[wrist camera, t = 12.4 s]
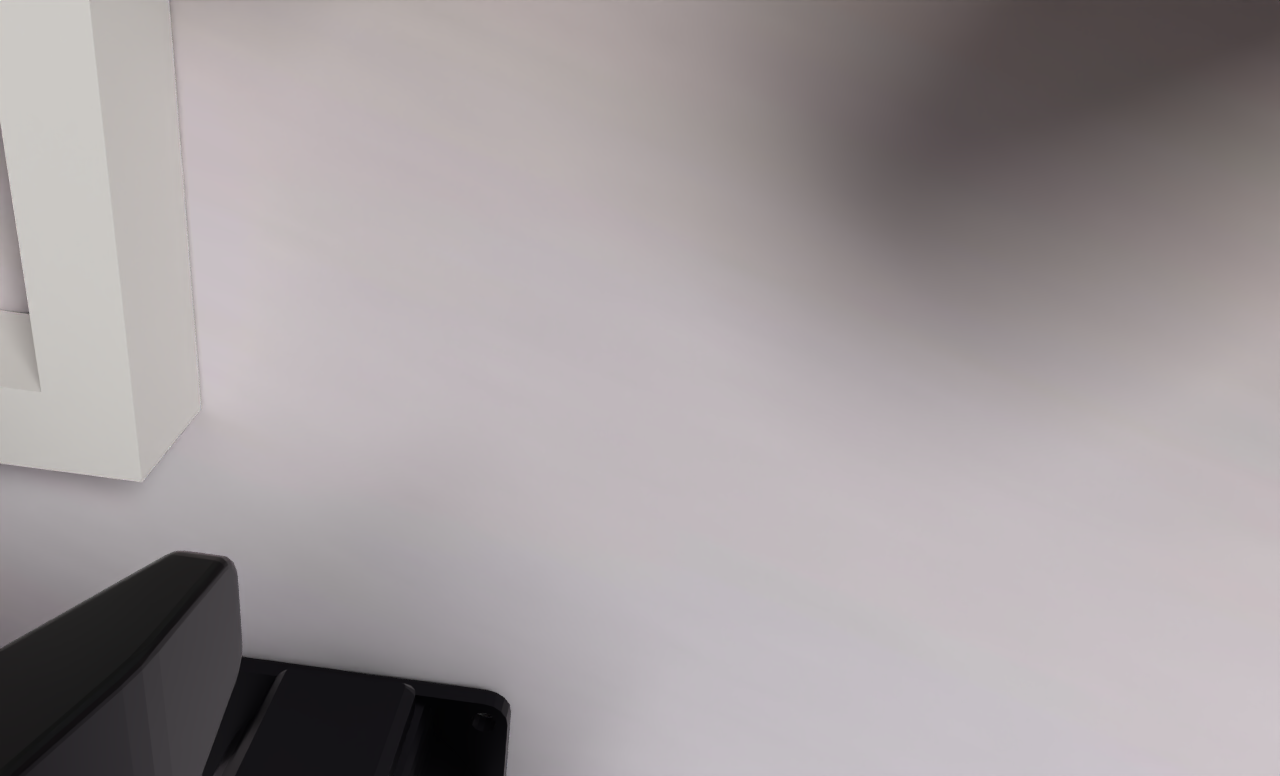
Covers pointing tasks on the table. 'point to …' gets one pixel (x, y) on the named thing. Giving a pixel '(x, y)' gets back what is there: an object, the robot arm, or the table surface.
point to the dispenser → (95, 239)
